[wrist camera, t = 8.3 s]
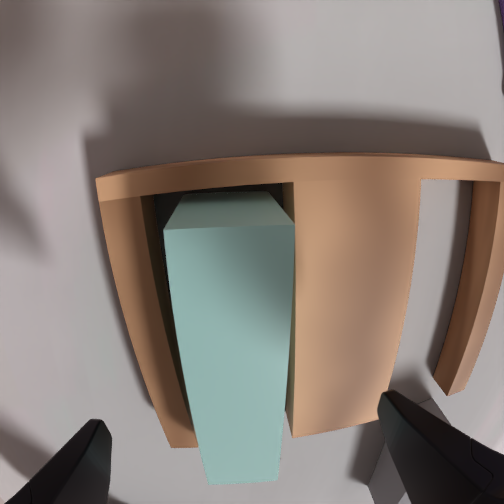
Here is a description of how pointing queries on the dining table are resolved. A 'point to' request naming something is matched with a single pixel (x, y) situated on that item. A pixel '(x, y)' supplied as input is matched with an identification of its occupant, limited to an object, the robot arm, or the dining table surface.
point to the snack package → (502, 10)
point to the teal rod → (233, 326)
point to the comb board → (315, 274)
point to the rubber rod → (394, 470)
